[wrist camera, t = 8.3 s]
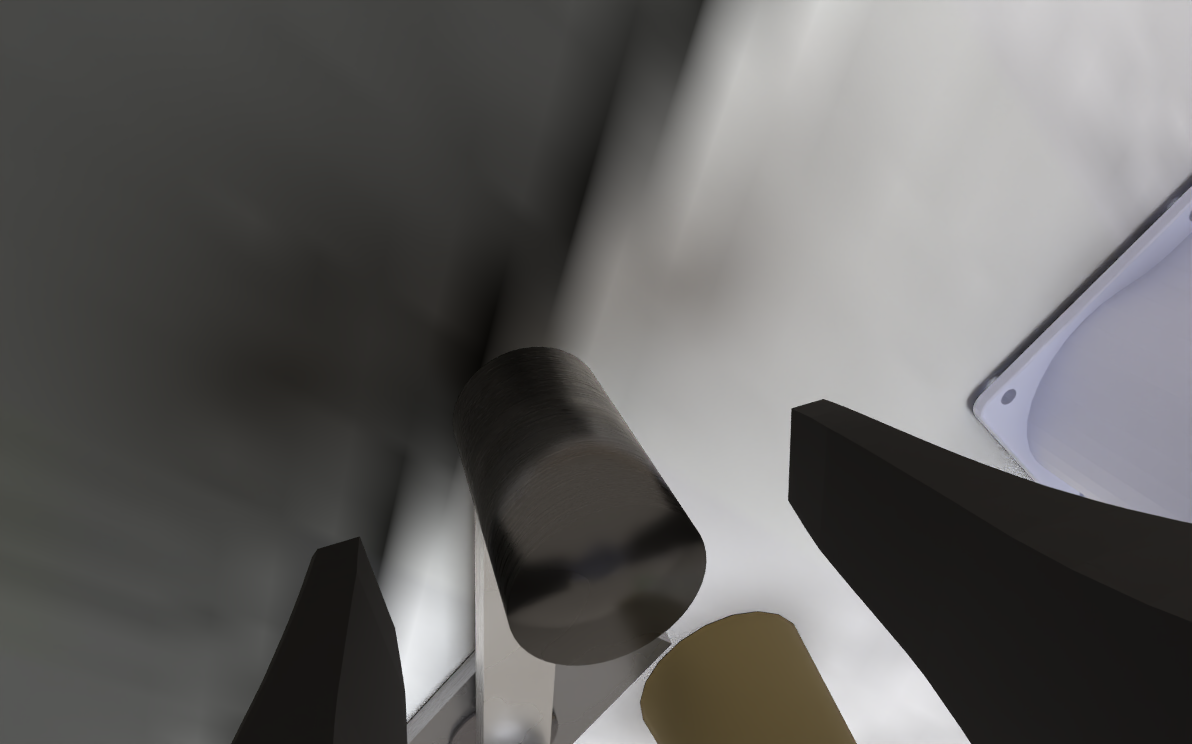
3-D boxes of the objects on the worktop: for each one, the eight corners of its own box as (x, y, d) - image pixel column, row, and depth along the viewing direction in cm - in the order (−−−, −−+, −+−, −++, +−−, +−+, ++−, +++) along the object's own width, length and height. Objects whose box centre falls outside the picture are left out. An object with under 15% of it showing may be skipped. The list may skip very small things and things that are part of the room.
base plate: (545, 574, 20) (553, 595, 19) (663, 628, 22) (674, 648, 22) (327, 810, 21) (327, 837, 21) (462, 833, 24) (466, 858, 23)
